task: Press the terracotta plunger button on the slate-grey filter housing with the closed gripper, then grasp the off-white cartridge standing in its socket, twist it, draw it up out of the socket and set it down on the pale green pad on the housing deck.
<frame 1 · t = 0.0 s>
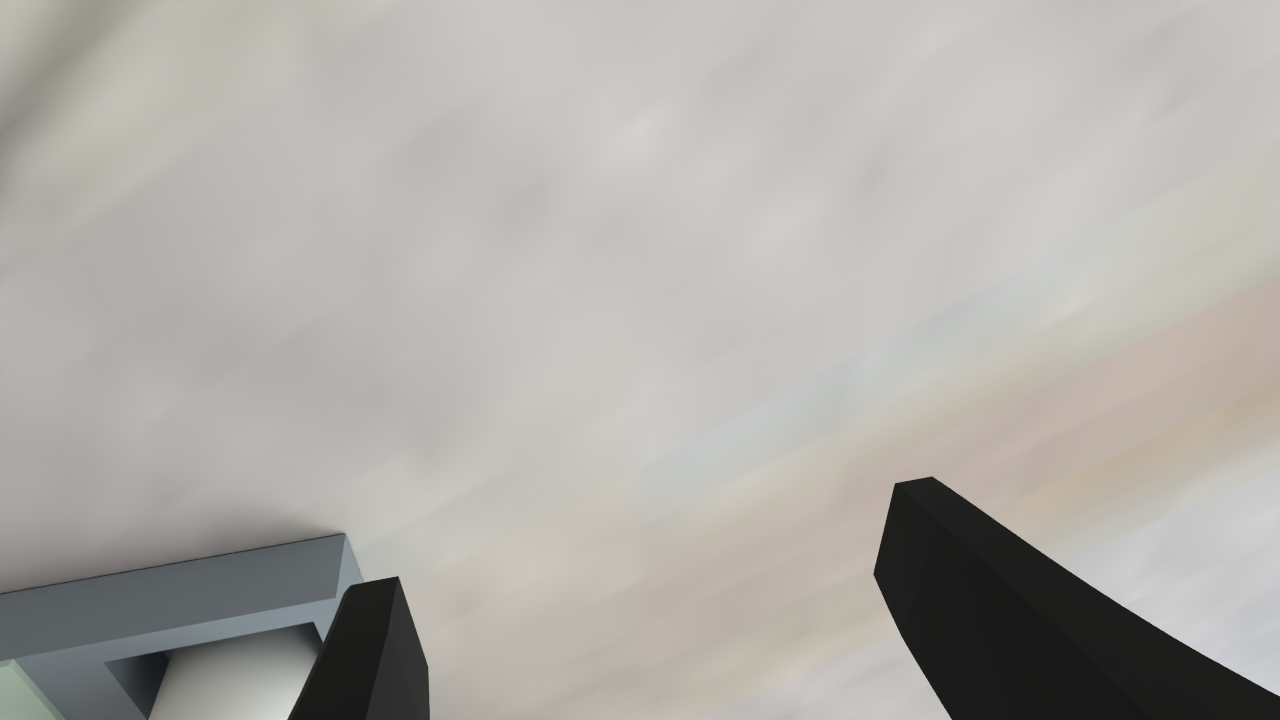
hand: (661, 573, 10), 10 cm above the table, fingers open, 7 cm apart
cartridge: (258, 638, 23), resting on housing
housing: (179, 703, 24), on the table
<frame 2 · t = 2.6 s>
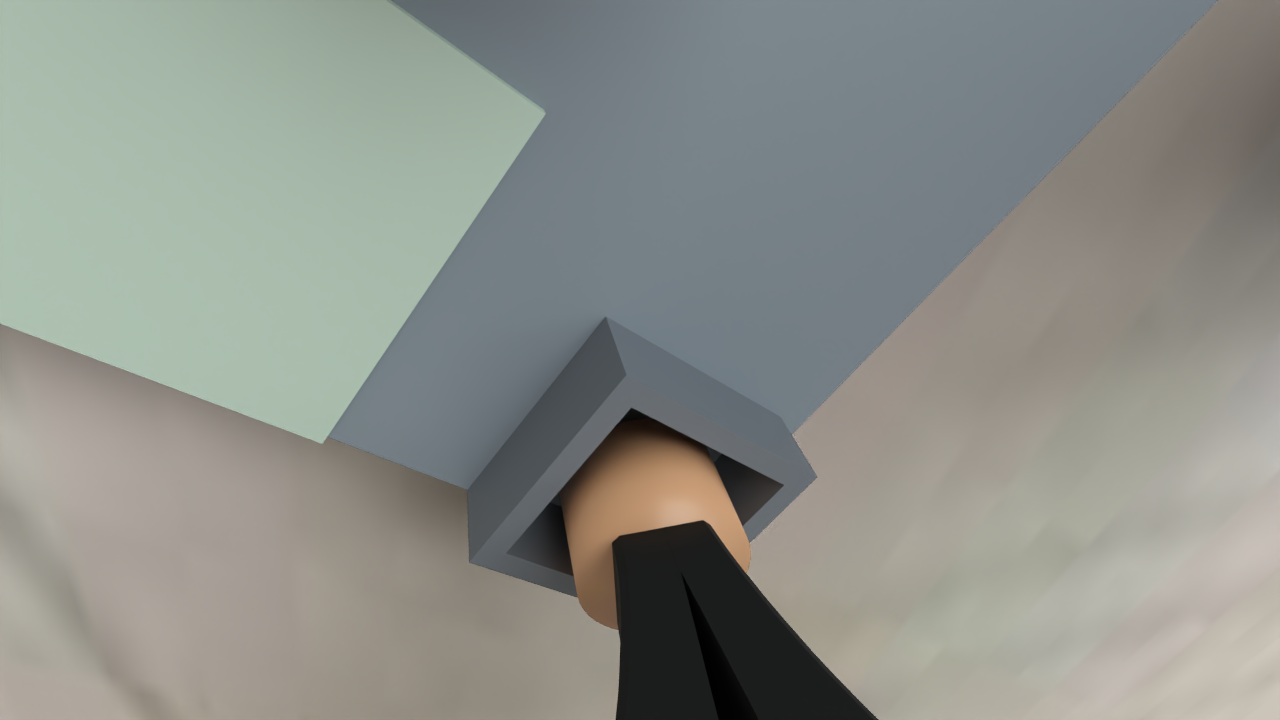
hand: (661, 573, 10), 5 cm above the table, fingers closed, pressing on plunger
plunger: (649, 523, 11), point 4 cm above the table, slide at 0.7 cm, touching gripper
housing: (591, 33, 11), on the table
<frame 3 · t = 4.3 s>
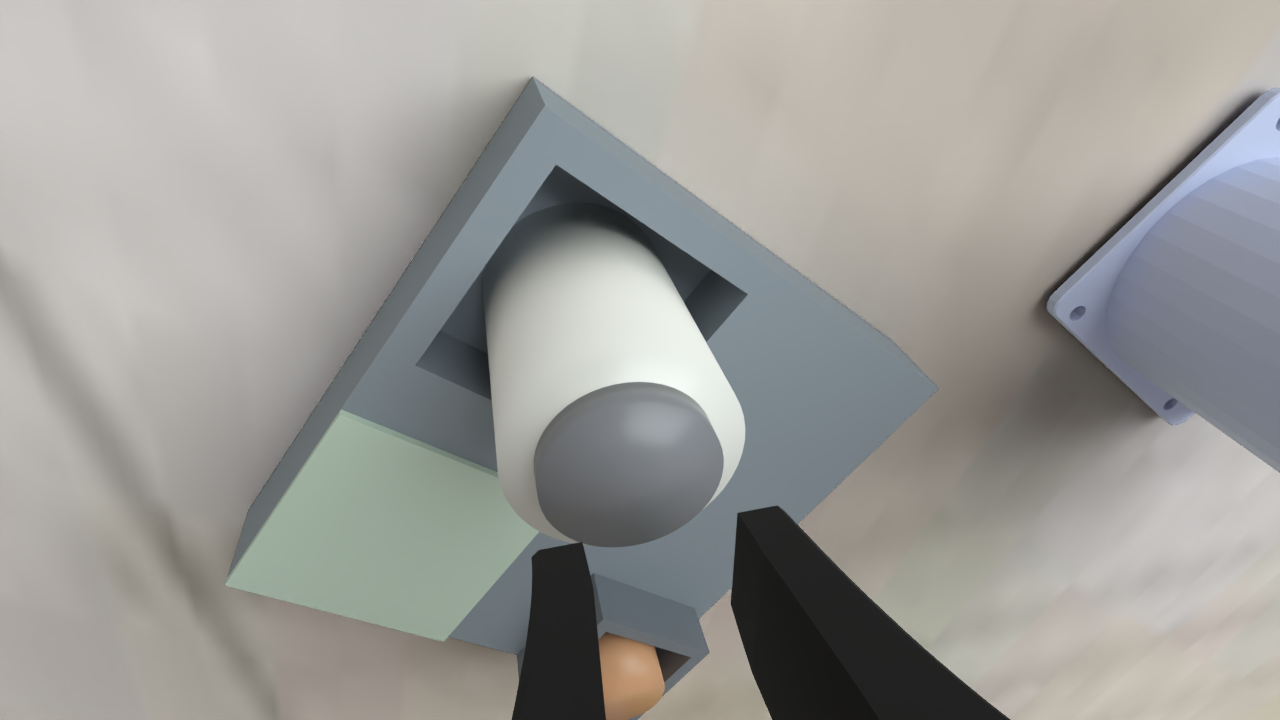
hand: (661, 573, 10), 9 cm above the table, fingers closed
cartridge: (573, 287, 18), resting on housing
plunger: (614, 665, 21), point 4 cm above the table, slide at 1.2 cm
housing: (585, 422, 21), on the table
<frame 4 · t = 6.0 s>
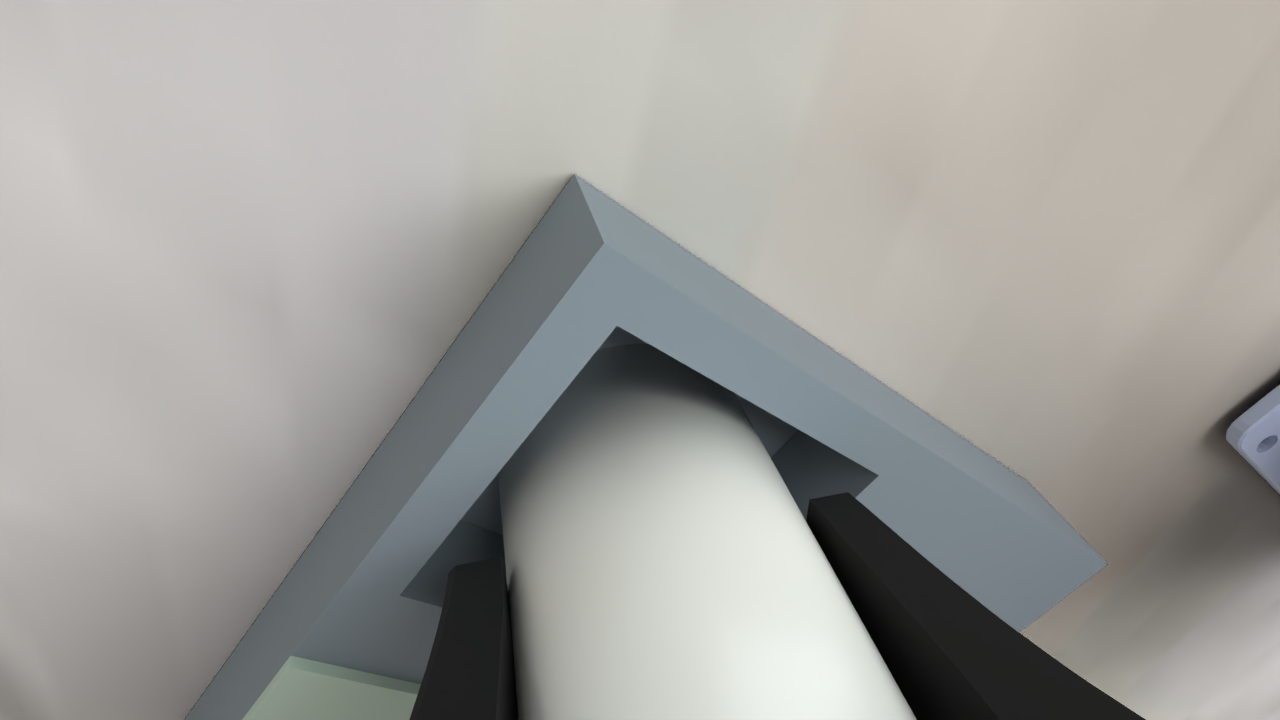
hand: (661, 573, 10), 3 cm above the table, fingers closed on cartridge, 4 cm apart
cartridge: (623, 449, 13), resting on housing, touching gripper
housing: (629, 597, 16), on the table
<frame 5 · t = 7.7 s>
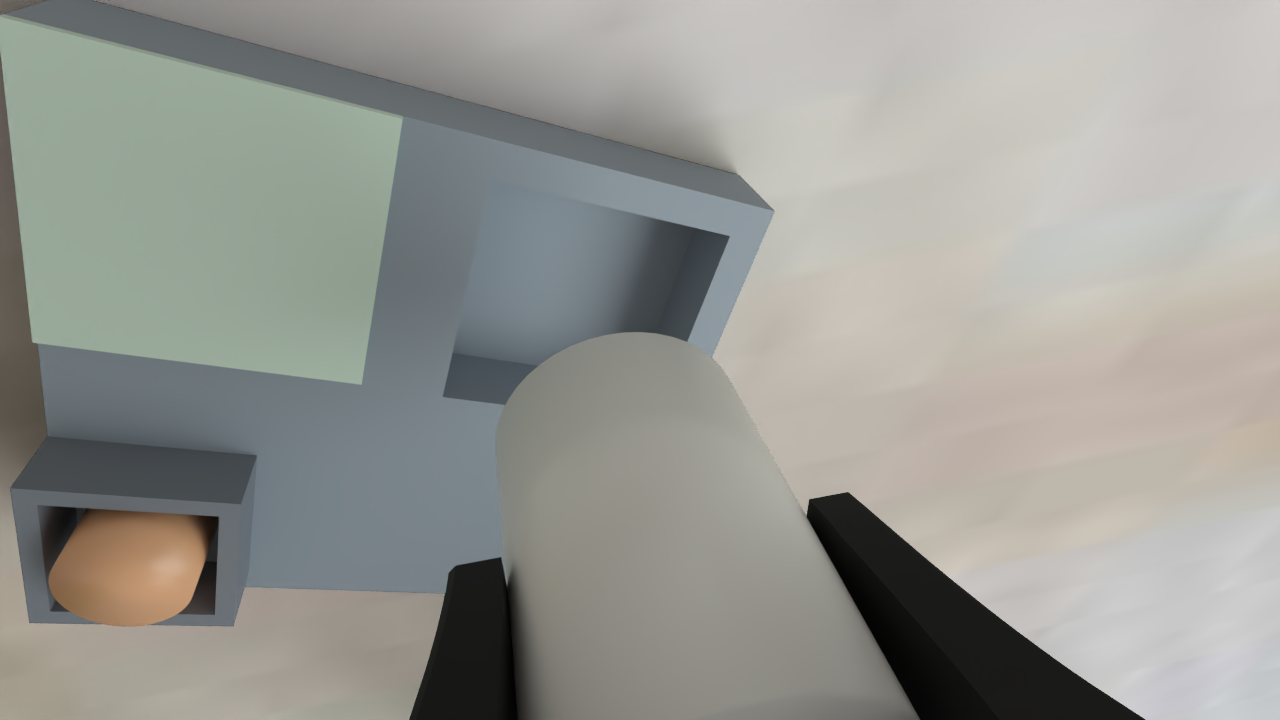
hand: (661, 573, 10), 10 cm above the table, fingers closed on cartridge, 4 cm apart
cartridge: (620, 437, 13), point 7 cm above the table, touching gripper
plunger: (140, 550, 16), point 4 cm above the table, slide at 1.2 cm
housing: (409, 348, 19), on the table
when the fingers open (6 cm above the table, at t = 9.3 s): cartridge stays where it is, resting on housing.
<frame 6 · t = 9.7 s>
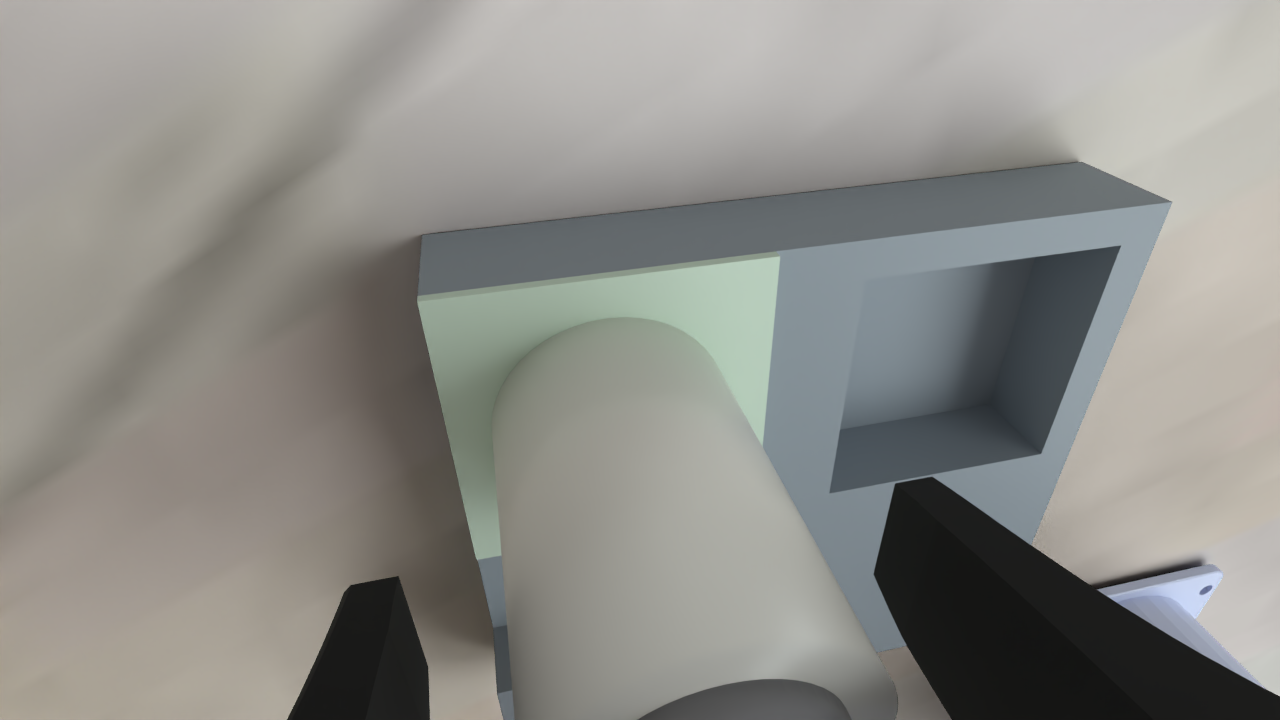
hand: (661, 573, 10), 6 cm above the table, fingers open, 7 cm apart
cartridge: (612, 420, 13), point 3 cm above the table, touching housing
housing: (757, 441, 18), on the table
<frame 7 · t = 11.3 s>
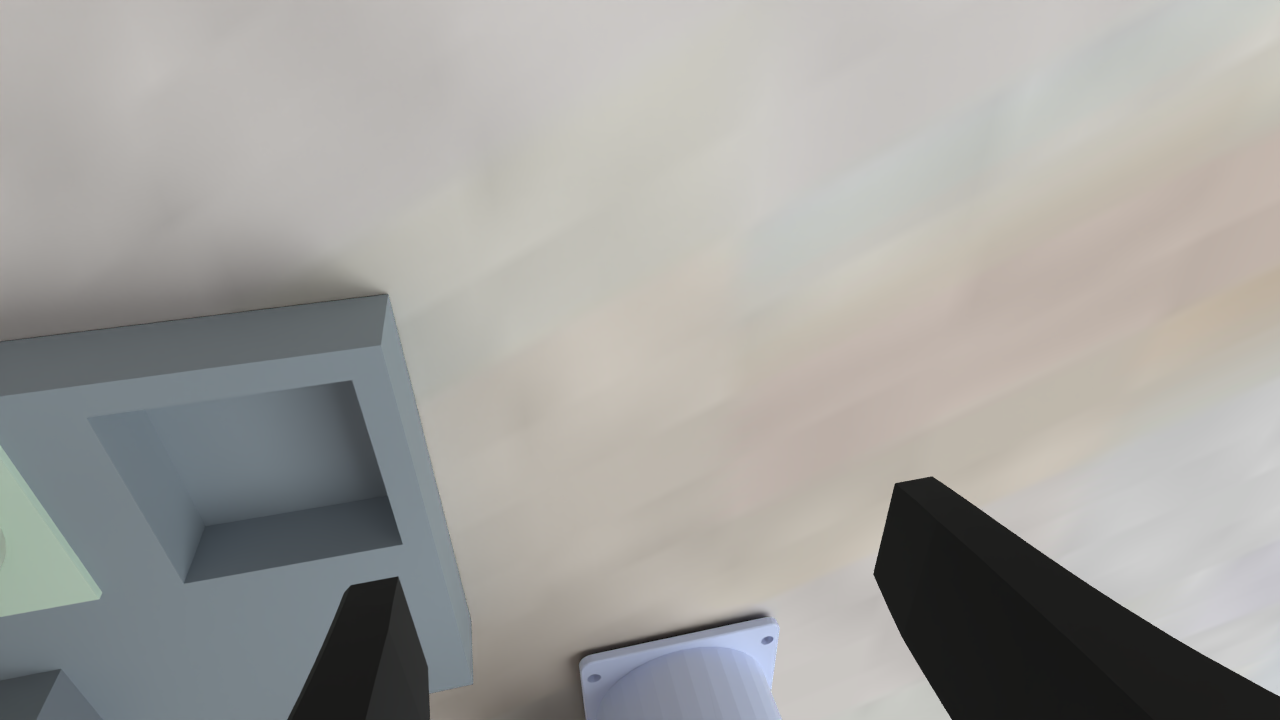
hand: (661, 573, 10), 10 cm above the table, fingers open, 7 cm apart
housing: (182, 528, 20), on the table
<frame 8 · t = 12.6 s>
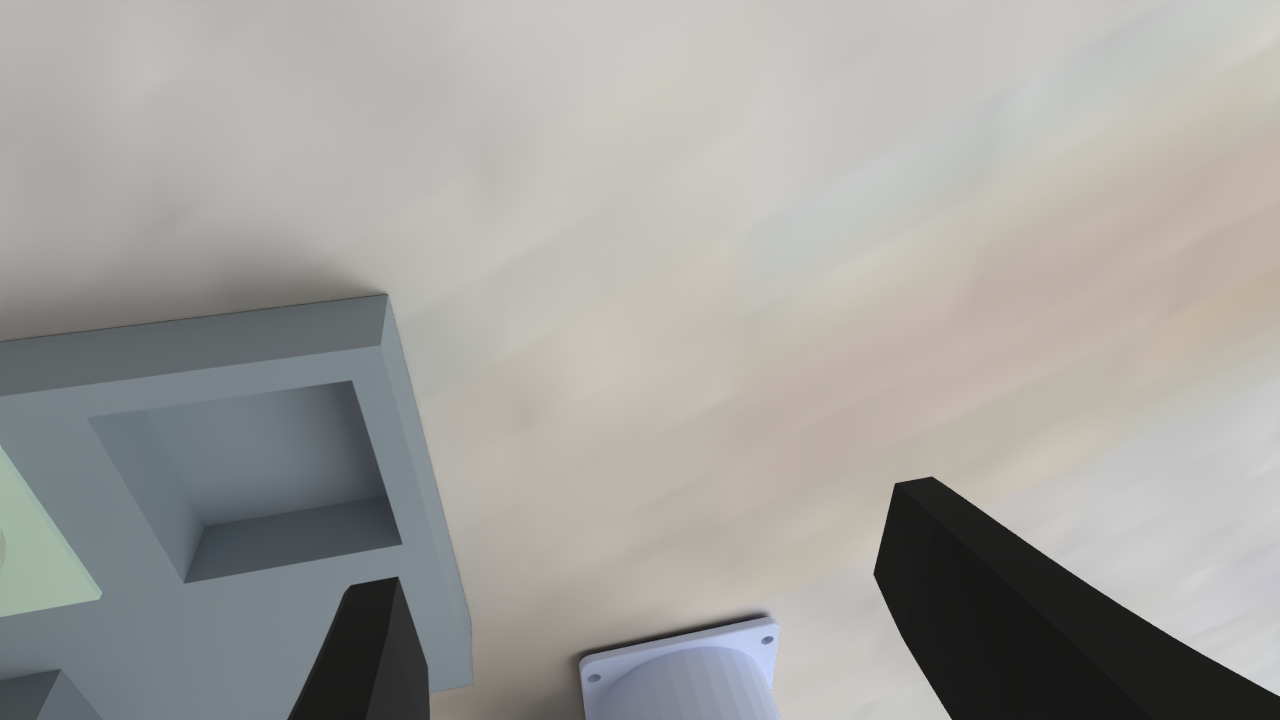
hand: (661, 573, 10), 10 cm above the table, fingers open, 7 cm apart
housing: (182, 528, 20), on the table
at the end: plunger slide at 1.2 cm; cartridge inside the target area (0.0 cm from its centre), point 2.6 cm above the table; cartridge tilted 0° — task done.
